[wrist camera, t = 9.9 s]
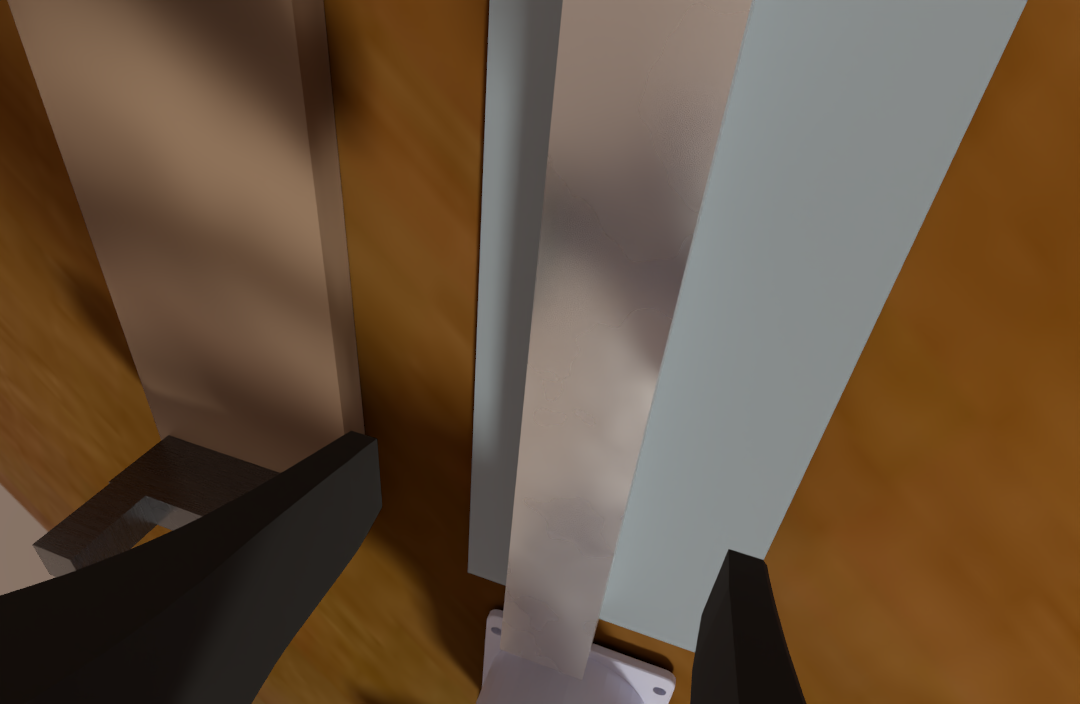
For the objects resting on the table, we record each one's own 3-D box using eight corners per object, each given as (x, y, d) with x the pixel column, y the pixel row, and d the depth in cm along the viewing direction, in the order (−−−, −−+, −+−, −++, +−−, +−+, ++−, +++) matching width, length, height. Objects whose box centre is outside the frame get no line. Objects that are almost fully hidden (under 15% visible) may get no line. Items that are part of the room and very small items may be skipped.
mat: (717, 650, 23) (716, 659, 23) (471, 564, 25) (467, 572, 25) (1110, -196, 10) (1123, -201, 9) (506, -230, 12) (498, -234, 11)
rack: (372, 514, 26) (258, 671, 20) (193, 453, 27) (43, 580, 22) (306, -176, 13) (-46, -272, 8) (-13, -201, 15) (-483, -294, 9)
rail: (602, 605, 23) (582, 680, 21) (527, 579, 24) (499, 648, 21) (788, -131, 11) (790, -155, 8) (622, -145, 11) (579, -171, 9)
